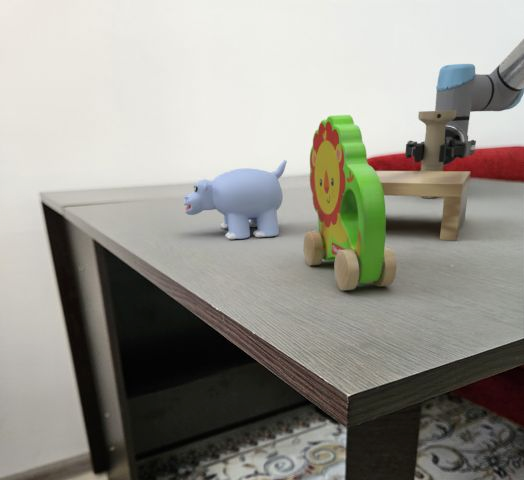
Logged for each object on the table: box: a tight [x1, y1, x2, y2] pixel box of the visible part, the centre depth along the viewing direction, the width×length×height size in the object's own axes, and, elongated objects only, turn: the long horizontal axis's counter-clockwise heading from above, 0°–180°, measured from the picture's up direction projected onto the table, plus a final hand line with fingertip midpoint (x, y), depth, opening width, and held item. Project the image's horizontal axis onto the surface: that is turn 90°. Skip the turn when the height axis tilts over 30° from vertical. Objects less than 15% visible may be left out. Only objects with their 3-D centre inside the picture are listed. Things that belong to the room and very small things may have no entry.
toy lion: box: [303, 114, 397, 291], centre depth 52 cm, size 16×5×15 cm, turn 13°
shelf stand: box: [375, 170, 471, 241], centre depth 74 cm, size 16×14×7 cm
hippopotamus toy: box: [183, 159, 288, 240], centre depth 74 cm, size 11×15×10 cm
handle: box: [417, 110, 456, 199], centre depth 96 cm, size 5×6×15 cm
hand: (429, 153), depth 92 cm, fingers closed on handle, 3 cm apart
